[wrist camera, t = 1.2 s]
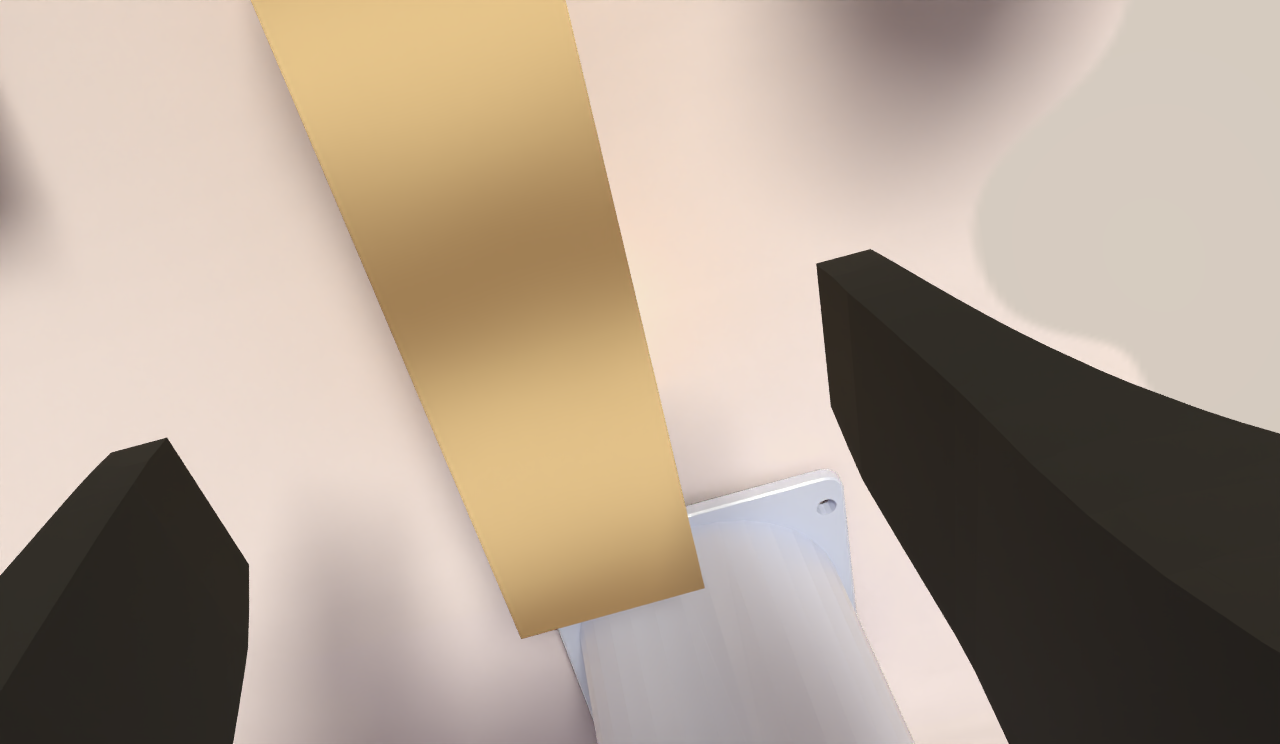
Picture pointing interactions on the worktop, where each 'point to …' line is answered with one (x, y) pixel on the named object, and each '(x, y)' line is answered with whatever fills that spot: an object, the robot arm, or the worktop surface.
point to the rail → (500, 284)
